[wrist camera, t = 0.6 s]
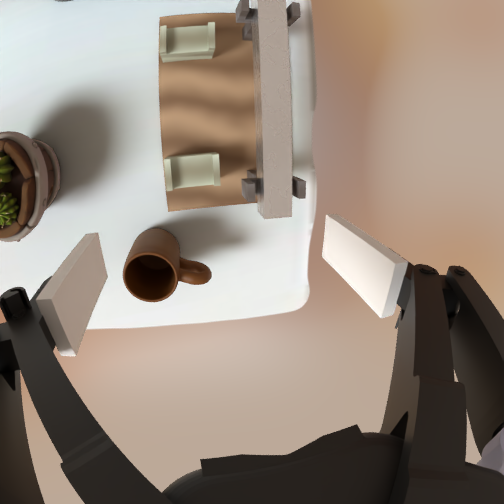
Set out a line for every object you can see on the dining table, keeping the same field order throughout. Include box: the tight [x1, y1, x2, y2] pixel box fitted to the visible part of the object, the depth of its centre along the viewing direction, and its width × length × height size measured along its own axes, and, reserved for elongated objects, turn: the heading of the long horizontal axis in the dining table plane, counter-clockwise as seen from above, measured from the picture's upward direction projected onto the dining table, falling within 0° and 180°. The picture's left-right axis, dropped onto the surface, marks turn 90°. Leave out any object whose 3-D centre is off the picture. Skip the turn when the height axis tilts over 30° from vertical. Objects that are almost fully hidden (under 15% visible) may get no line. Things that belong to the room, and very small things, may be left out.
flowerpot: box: [0, 132, 60, 242], centre depth 24 cm, size 14×15×20 cm
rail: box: [251, 0, 292, 219], centre depth 27 cm, size 28×3×3 cm, turn 2°
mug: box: [123, 228, 211, 302], centre depth 39 cm, size 12×8×9 cm, turn 79°
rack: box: [159, 0, 306, 212], centre depth 30 cm, size 30×18×12 cm, turn 2°
